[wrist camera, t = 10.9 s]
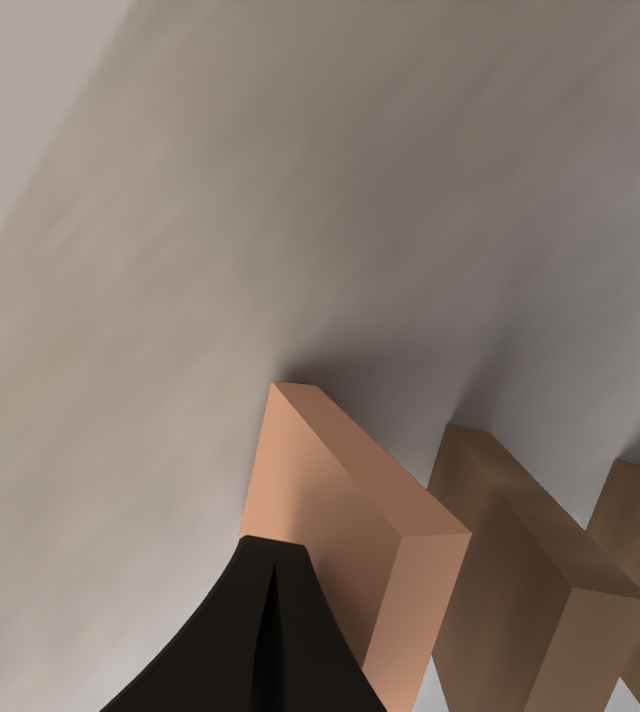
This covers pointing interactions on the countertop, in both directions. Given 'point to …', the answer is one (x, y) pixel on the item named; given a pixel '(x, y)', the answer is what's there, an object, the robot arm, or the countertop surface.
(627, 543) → the tile
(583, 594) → the tile
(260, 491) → the lead tile
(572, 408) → the countertop surface
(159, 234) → the countertop surface
